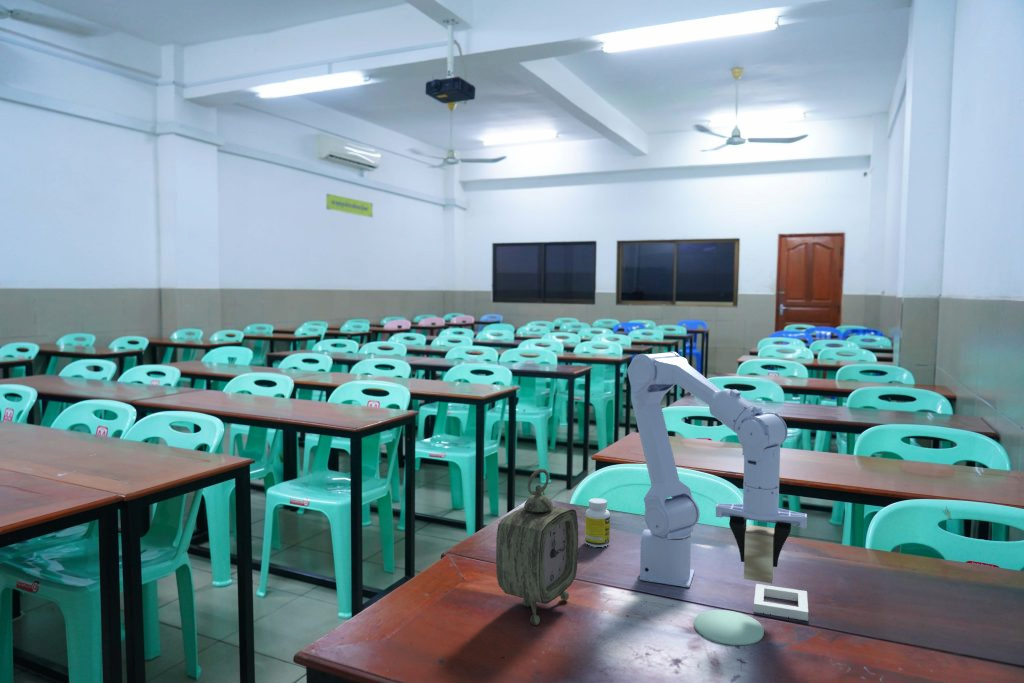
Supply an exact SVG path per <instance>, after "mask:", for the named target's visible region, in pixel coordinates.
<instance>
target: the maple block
mask: <svg viewBox="0 0 1024 683" xmlns="http://www.w3.org/2000/svg"><path fill="white" fill-rule="evenodd" d="M774 528H775V527H768V526H760V525H752V524H746V531H745V552H744V562H743V567H744V568H743V579H744V580H749V581H755V582H760V583H768V584H773V581H774V576H775V575H774V574H775V567H773V555H774Z"/></svg>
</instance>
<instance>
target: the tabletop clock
mask: <svg viewBox="0 0 1024 683" xmlns="http://www.w3.org/2000/svg"><path fill="white" fill-rule="evenodd" d="M542 473H543V474H544V475H545V482H544V484H543V485H539V484H538V485H536V486H535V490H531V484H532V481H533V479H534V478H535V477H536V476H537V475H539V474H542ZM549 481H550V476H549V472H548V471H547V469H545V468H539V469H537V470H535V471H534V472H532V474H531V475H530V476H529V479H528V481H527V482H528V483H527V491H528V492H529V493H528V494H530V496H529V497H527V499H526V501H525V502H524V504H523V507H520V508H519V509H516V510H514V511H512V512H510V513H509V514H507V515H506V516H505V517H502V519H500V521H499V523H498V524H497V530H496V540H495V541H496V545H495V546H496V548H495V564H496V566H495V567H496V579H497V580H496V581H497V584H498V587H500V589H501V590H502V591H503V592H504V594H506V595H510V596H513V597H517V598H521V599H522V603H523V606H525V607H531V611H532V615H531V617H530V619H529V620H530V623H531V624H532V625H533V626H537V625H539V624H540V622H541V618H540V616H539V615H538V614H537V603H538V604H543V605H544V604H549V603H551V602H552V601H554V600H556V598H559V597H560V599H561V600H562V601H568V600H569V599H570V594H569V592H568V591H566V590H567V589H568V588H569V587H570V586H571V585H572V584H573V582H574V580H575V579H576V576H577V571H578V570H577V569H578V559H579V523H578V515H577V511H576V510H575V509H573V508H567V507H561V506H558V505H557V506H556V505H554V504H553V502H552V499H550V498H549V496H547V495H546V494H545V495H543V491H544V492H545V490H546V488H547V487H548V484H549Z"/></svg>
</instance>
